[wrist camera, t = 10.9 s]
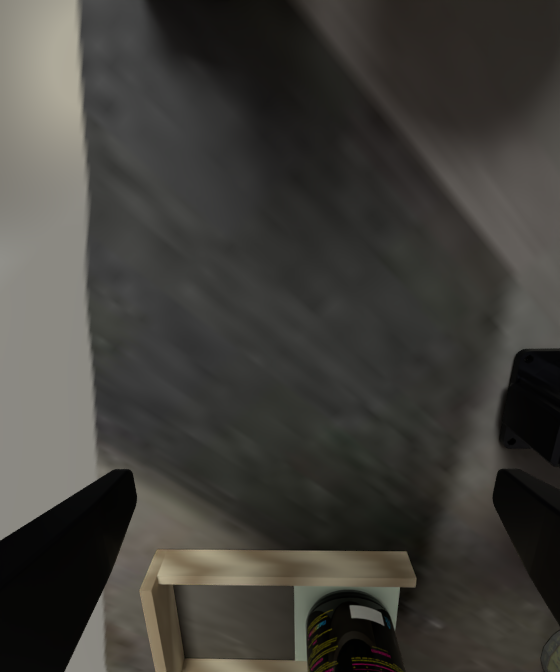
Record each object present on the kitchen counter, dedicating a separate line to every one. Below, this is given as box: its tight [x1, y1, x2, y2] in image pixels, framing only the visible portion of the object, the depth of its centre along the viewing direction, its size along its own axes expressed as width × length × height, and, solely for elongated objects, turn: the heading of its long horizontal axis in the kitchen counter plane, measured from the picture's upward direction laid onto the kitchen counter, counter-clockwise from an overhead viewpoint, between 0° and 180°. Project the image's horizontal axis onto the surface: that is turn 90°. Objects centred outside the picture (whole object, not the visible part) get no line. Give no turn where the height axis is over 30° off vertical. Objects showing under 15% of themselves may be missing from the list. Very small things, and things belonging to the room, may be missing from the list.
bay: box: [139, 549, 417, 672], centre depth 25 cm, size 19×13×3 cm
